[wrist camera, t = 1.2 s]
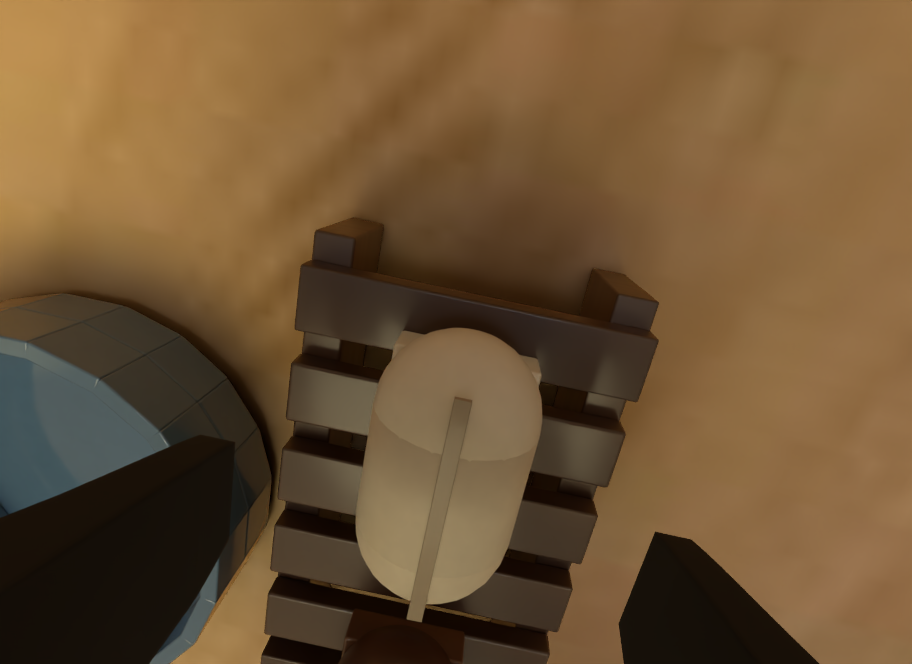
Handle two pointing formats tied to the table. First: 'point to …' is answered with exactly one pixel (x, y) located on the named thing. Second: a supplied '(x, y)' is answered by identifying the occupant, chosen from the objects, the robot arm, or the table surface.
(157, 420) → the bowl
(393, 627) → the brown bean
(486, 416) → the cream capsule
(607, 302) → the rack
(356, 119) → the table surface
